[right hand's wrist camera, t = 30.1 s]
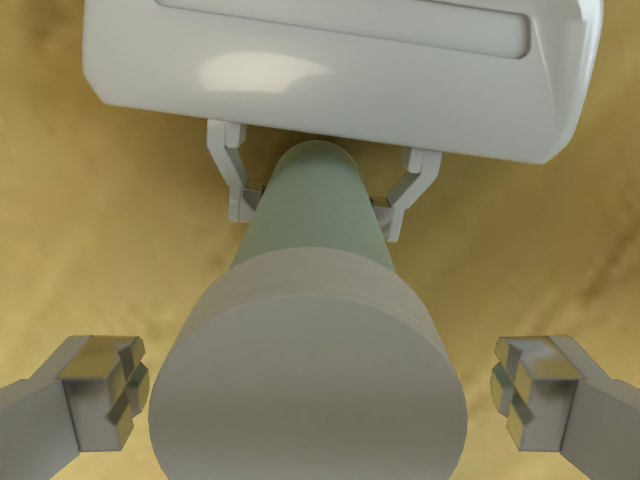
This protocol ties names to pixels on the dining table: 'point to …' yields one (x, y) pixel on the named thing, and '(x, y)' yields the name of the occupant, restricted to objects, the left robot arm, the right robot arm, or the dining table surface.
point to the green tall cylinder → (315, 207)
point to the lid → (308, 377)
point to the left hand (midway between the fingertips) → (314, 228)
